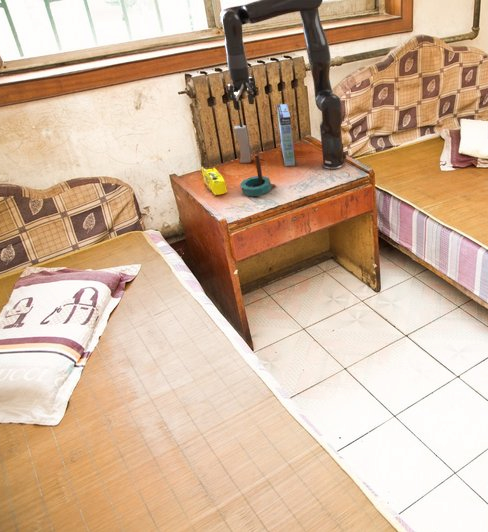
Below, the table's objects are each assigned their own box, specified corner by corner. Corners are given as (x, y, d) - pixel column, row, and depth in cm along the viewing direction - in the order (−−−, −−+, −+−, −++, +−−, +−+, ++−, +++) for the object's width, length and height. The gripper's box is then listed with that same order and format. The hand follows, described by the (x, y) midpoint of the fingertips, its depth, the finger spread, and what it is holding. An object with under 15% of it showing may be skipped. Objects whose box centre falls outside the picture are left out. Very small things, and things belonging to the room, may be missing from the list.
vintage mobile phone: (241, 160, 257) (231, 107, 244) (251, 159, 258) (243, 107, 244) (240, 163, 254) (230, 110, 241) (250, 162, 255) (242, 109, 241)
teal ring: (258, 180, 235) (257, 173, 233) (276, 187, 228) (275, 180, 227) (236, 190, 228) (234, 184, 226) (254, 198, 221) (252, 192, 220)
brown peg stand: (260, 183, 235) (255, 150, 227) (275, 186, 232) (270, 153, 224) (248, 190, 230) (242, 156, 221) (263, 194, 226) (257, 160, 218)
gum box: (282, 151, 266) (276, 104, 253) (292, 150, 267) (287, 103, 254) (285, 166, 250) (278, 117, 237) (296, 165, 251) (290, 116, 238)
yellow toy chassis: (203, 184, 236) (199, 165, 231) (216, 180, 238) (212, 162, 234) (214, 197, 224) (210, 178, 220) (228, 194, 227) (224, 175, 222)
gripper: (232, 70, 205) (239, 113, 214) (257, 62, 216) (263, 103, 224) (217, 68, 208) (225, 110, 217) (242, 60, 219) (249, 101, 228)
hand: (244, 106), depth 221 cm, fingers open, 8 cm apart
